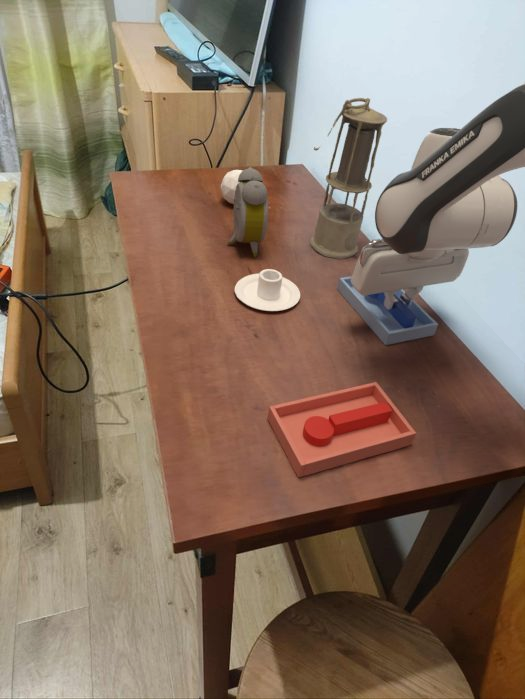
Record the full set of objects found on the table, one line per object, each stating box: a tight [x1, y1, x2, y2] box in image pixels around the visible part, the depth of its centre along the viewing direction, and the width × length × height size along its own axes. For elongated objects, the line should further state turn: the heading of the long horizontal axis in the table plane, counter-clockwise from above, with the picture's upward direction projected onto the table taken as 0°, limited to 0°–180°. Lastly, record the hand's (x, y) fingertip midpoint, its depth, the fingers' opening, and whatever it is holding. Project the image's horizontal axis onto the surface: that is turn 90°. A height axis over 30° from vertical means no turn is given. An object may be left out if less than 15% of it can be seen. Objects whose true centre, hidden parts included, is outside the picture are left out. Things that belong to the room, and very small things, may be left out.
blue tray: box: [336, 275, 439, 346], centre depth 92 cm, size 17×10×2 cm, turn 22°
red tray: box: [267, 381, 417, 478], centre depth 69 cm, size 17×10×2 cm, turn 112°
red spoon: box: [303, 402, 392, 446], centre depth 69 cm, size 13×4×2 cm, turn 112°
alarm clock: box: [226, 166, 269, 258], centre depth 102 cm, size 12×7×15 cm, turn 9°
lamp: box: [309, 97, 388, 260], centre depth 100 cm, size 10×13×30 cm
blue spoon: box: [368, 292, 417, 329], centre depth 91 cm, size 13×4×2 cm, turn 22°
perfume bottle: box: [220, 169, 244, 205], centre depth 120 cm, size 8×8×12 cm
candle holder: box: [233, 268, 301, 312], centre depth 92 cm, size 12×12×4 cm
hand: (396, 305), depth 89 cm, fingers closed on blue spoon, 2 cm apart
